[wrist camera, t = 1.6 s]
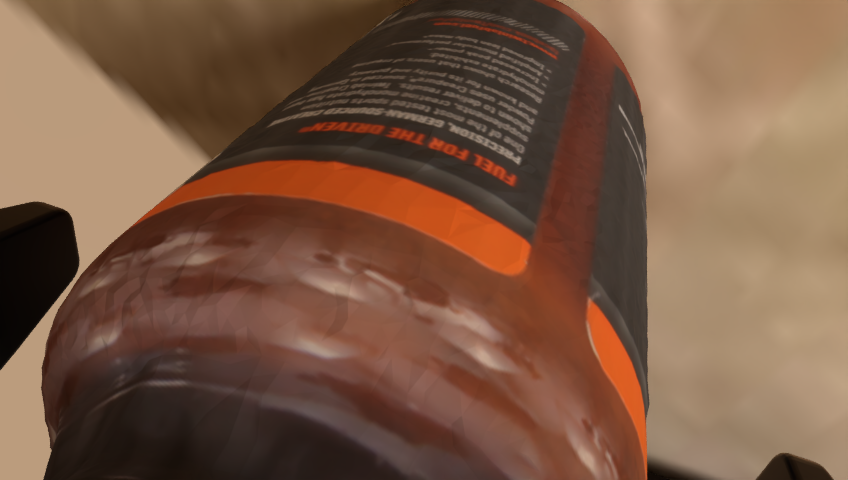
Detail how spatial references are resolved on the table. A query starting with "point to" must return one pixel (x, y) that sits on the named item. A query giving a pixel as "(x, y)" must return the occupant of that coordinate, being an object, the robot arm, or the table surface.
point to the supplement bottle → (384, 276)
